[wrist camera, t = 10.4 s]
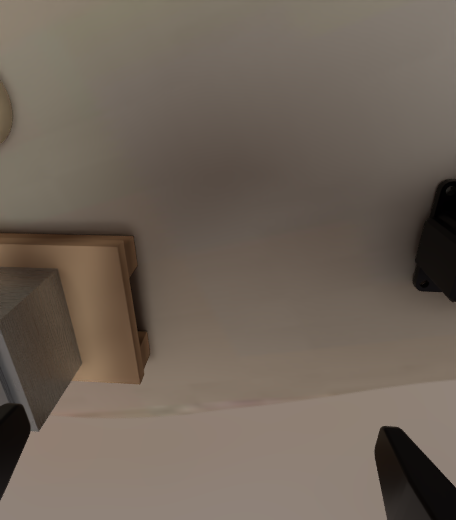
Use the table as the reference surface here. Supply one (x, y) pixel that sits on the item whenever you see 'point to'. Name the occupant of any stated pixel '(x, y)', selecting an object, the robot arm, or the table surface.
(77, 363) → the housing
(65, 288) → the tan flat board
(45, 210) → the table surface
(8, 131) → the cream rounded piece
